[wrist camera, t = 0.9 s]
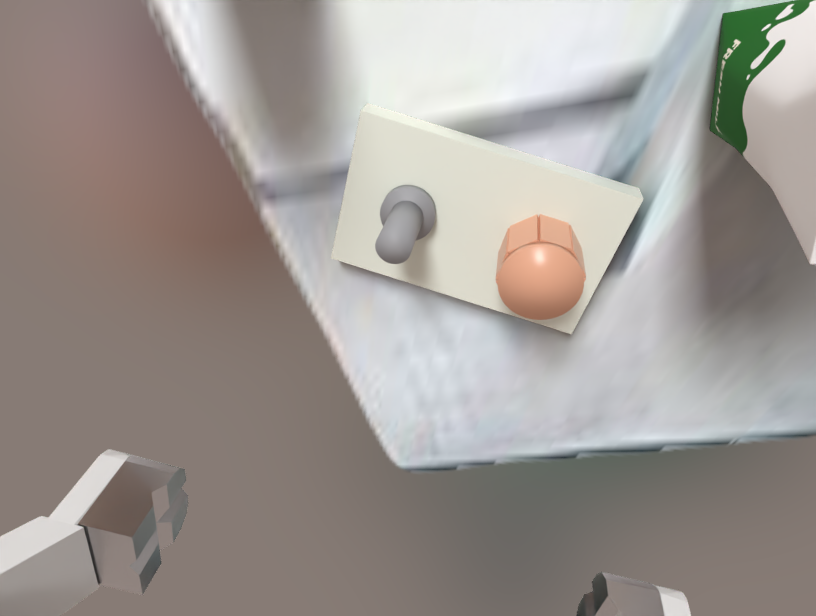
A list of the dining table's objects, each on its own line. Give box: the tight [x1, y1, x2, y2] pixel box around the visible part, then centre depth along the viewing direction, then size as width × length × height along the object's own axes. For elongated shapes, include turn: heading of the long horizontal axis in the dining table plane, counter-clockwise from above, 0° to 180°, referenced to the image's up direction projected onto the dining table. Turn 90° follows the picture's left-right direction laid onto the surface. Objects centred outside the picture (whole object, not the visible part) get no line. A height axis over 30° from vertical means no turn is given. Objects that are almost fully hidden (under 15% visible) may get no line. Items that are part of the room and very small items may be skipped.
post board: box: [331, 103, 643, 334], centre depth 41 cm, size 20×12×8 cm, turn 75°
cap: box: [495, 214, 586, 320], centre depth 41 cm, size 6×6×5 cm
